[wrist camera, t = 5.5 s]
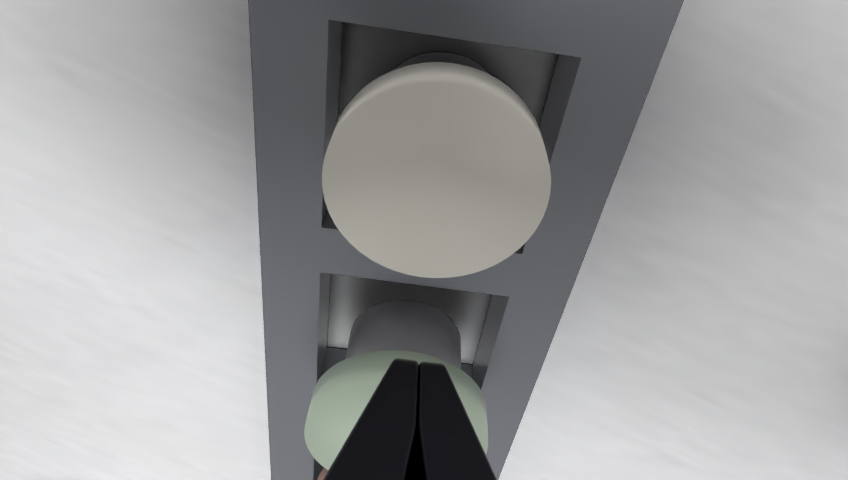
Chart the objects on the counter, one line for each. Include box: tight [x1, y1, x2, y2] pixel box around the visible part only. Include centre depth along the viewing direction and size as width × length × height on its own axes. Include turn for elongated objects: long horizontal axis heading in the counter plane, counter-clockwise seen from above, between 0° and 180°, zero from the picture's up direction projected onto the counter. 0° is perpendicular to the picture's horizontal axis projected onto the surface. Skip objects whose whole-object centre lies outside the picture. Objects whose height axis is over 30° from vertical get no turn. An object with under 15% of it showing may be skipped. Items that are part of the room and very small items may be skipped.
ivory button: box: [322, 52, 551, 278], centre depth 16 cm, size 6×6×4 cm
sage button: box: [304, 300, 488, 470], centre depth 19 cm, size 6×6×4 cm
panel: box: [248, 0, 684, 480], centre depth 22 cm, size 10×26×2 cm, turn 172°
